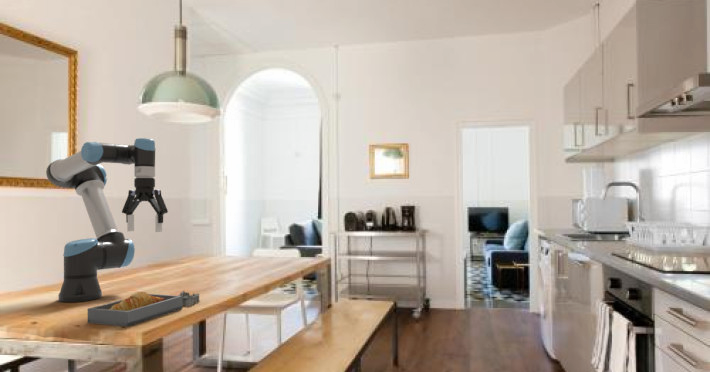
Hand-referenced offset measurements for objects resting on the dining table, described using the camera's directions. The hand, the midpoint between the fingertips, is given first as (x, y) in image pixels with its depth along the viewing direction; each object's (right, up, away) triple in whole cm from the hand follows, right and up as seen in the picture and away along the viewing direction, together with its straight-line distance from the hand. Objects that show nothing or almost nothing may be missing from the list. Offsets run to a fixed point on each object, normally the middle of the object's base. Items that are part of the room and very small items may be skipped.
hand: (144, 231), depth 194 cm
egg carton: (+19, -27, -7) cm, 34 cm away
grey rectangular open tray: (+9, -26, -27) cm, 39 cm away
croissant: (+9, -25, -27) cm, 38 cm away
